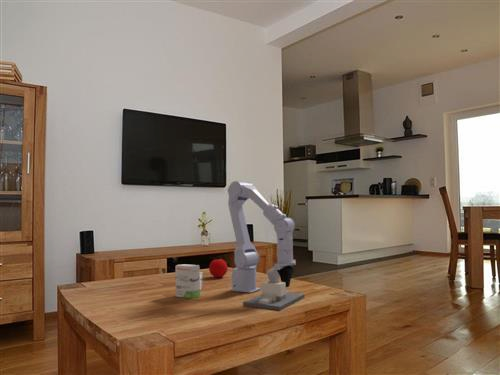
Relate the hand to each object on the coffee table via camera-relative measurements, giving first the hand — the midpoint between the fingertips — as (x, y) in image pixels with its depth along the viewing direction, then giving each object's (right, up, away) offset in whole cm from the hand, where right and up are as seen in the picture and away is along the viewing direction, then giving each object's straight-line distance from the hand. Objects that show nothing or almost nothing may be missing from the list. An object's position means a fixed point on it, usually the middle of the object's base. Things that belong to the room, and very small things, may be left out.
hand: (285, 286), depth 138 cm
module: (-5, -2, -9) cm, 10 cm away
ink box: (-37, -4, +2) cm, 37 cm away
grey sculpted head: (-3, -5, +27) cm, 27 cm away
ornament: (-29, -7, +41) cm, 51 cm away
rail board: (-5, -3, -8) cm, 10 cm away
